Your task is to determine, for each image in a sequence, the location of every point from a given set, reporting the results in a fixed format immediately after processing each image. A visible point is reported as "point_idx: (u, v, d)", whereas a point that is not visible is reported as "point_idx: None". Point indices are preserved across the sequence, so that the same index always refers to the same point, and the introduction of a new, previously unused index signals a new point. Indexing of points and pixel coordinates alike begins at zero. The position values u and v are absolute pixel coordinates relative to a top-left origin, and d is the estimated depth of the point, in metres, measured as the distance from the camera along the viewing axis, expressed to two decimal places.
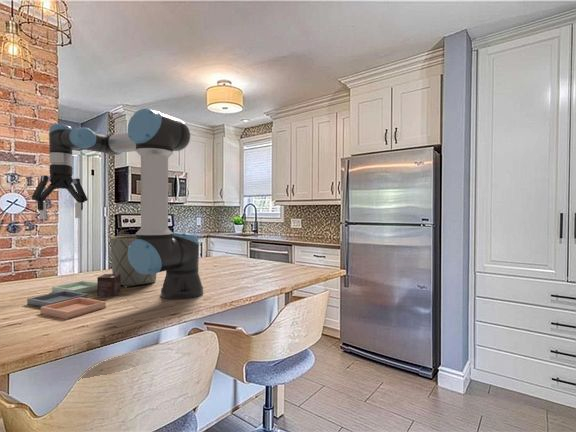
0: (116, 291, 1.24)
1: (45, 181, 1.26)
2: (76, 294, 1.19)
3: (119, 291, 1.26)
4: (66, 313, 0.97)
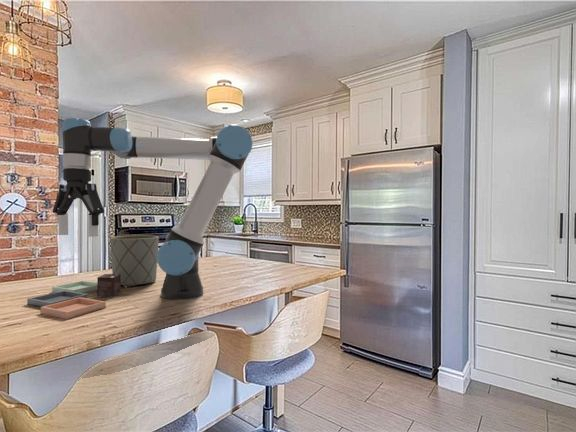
0: (116, 291, 1.24)
1: (59, 191, 1.07)
2: (76, 294, 1.19)
3: (119, 291, 1.26)
4: (66, 313, 0.97)
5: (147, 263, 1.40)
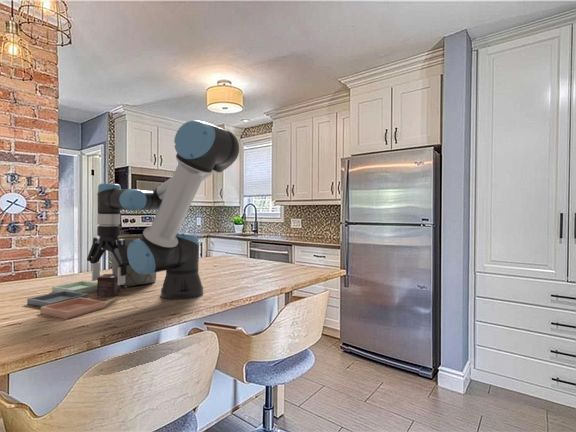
0: (116, 291, 1.24)
1: (93, 243, 1.25)
2: (76, 294, 1.19)
3: (119, 291, 1.26)
4: (66, 313, 0.97)
5: None
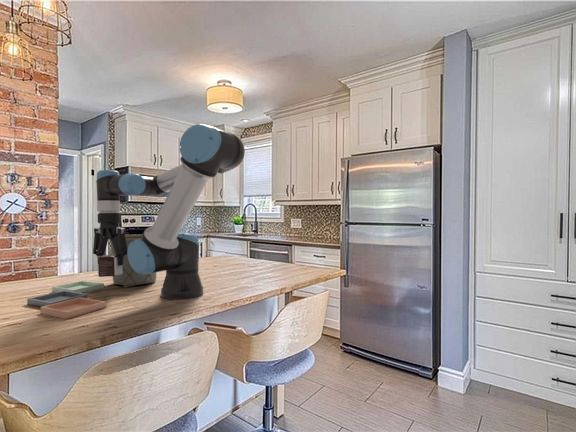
0: None
1: (95, 234, 1.25)
2: (76, 294, 1.19)
3: None
4: (66, 313, 0.97)
5: None
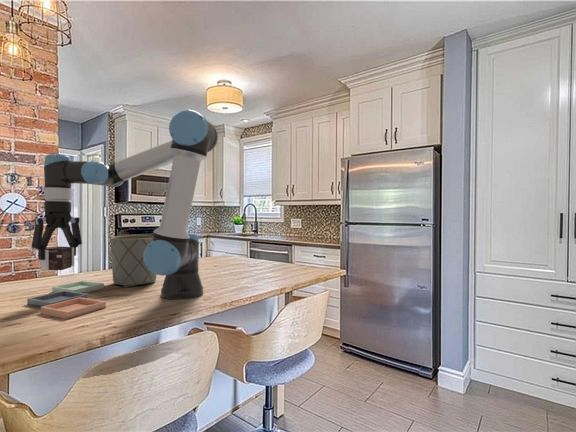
0: None
1: (41, 225, 1.08)
2: (76, 294, 1.19)
3: None
4: (66, 313, 0.97)
5: None
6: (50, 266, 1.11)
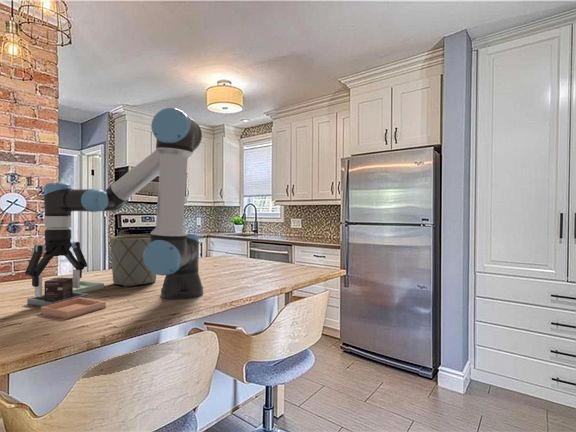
0: None
1: (40, 252, 1.07)
2: (76, 294, 1.19)
3: None
4: (66, 313, 0.97)
5: None
6: (51, 298, 1.11)
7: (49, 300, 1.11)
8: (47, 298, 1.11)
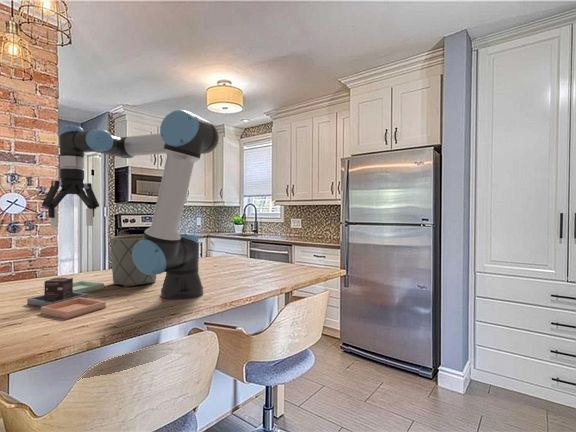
0: None
1: (56, 186, 1.17)
2: (76, 294, 1.19)
3: None
4: (66, 313, 0.97)
5: None
6: (51, 298, 1.11)
7: (49, 300, 1.11)
8: (47, 298, 1.11)
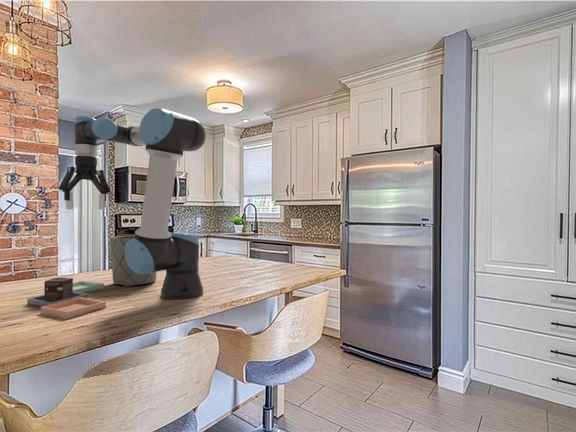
0: None
1: (72, 172, 1.28)
2: (76, 294, 1.19)
3: None
4: (66, 313, 0.97)
5: None
6: (51, 298, 1.11)
7: (49, 300, 1.11)
8: (47, 298, 1.11)
